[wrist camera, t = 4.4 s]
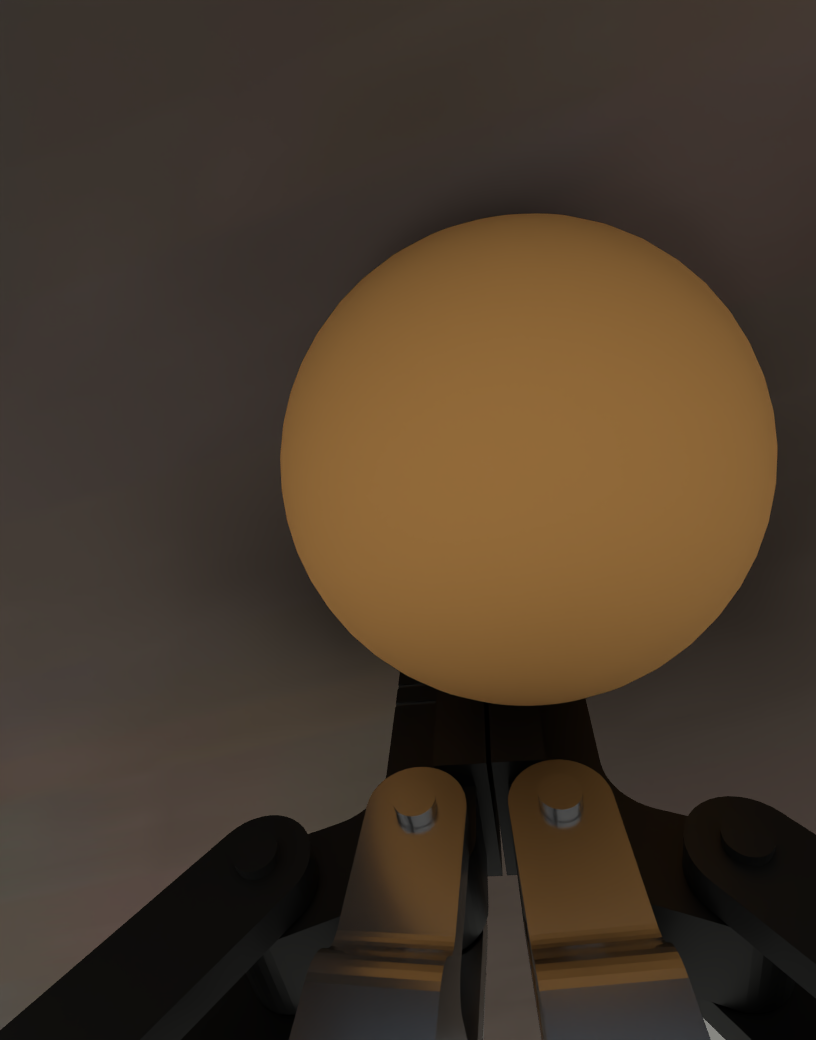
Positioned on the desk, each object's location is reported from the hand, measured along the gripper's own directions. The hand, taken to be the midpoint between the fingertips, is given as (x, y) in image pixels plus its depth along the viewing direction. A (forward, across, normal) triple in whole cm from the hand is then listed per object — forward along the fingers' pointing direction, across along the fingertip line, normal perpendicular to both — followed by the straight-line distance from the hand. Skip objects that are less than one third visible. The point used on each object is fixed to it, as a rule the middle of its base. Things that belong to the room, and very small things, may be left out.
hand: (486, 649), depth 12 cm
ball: (-2, -1, -4) cm, 5 cm away
